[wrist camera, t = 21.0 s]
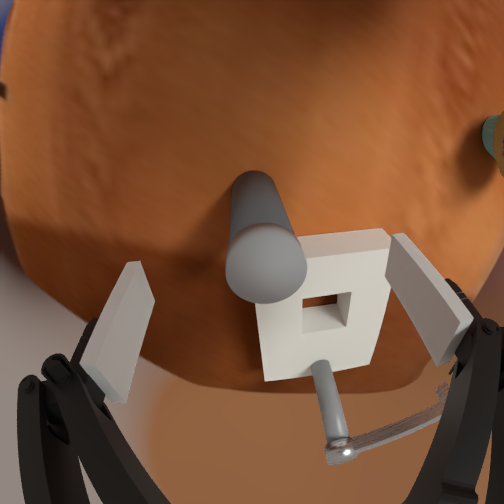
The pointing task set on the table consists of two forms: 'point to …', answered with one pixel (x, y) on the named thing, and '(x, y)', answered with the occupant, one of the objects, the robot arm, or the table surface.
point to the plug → (262, 243)
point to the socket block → (329, 317)
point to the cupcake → (495, 139)
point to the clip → (385, 432)
